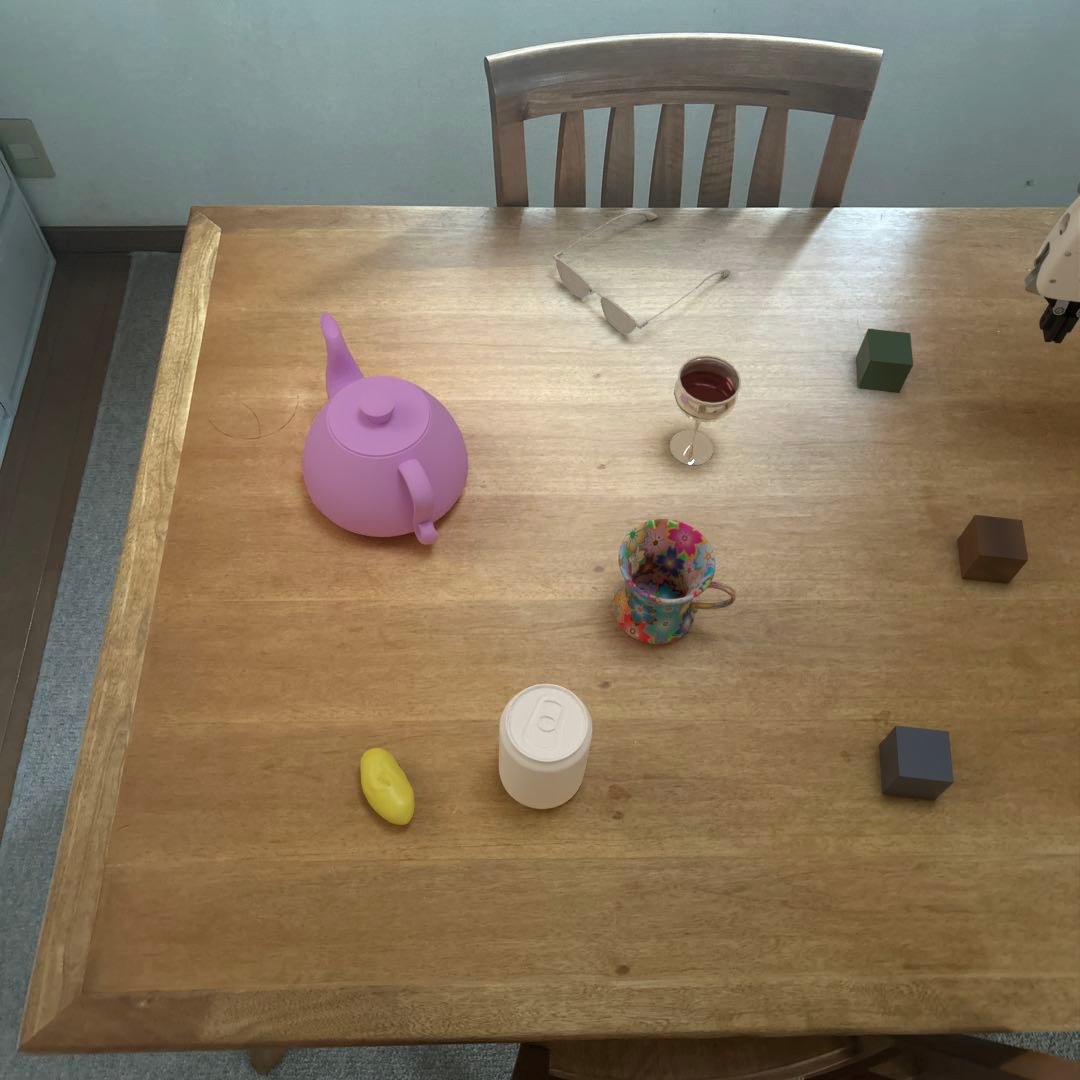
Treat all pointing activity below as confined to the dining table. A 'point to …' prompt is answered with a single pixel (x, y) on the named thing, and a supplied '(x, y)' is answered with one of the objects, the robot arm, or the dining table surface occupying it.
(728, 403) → the wineglass
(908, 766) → the block
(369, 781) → the yellow potato
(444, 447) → the teapot
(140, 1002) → the dining table surface
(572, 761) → the beverage can
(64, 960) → the dining table surface
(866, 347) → the green block
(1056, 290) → the robot arm
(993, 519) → the walnut block
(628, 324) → the eyeglasses
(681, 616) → the mug
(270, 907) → the dining table surface
